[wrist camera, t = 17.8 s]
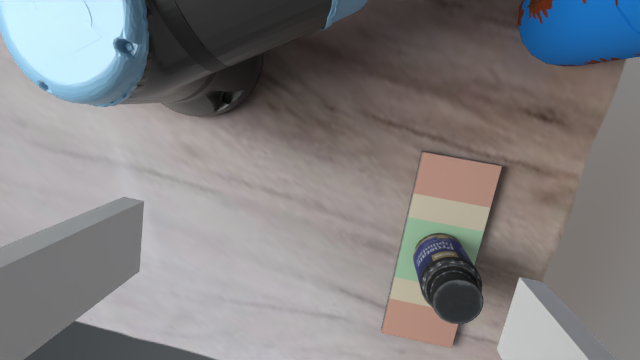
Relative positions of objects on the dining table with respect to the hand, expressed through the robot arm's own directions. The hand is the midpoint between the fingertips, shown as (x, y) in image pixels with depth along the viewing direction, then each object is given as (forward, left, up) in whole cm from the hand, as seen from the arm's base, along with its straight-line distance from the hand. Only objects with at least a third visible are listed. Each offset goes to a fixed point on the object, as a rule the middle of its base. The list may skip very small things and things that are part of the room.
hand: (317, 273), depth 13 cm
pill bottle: (+13, -11, -34) cm, 38 cm away
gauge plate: (+13, -11, -35) cm, 38 cm away
